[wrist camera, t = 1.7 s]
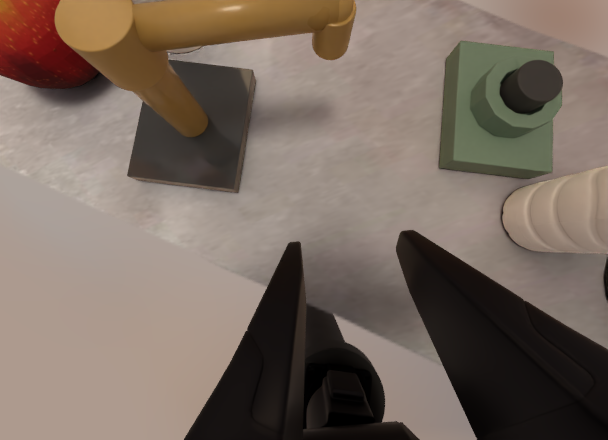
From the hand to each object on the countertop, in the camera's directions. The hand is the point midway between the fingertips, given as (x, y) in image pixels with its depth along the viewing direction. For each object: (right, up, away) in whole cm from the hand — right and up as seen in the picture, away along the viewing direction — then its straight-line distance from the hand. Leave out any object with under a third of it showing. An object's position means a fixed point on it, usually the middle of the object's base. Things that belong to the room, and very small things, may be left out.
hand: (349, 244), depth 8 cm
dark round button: (+17, +12, +11) cm, 24 cm away
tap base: (-12, +10, +15) cm, 22 cm away
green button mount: (+17, +11, +15) cm, 25 cm away
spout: (-7, +12, +7) cm, 15 cm away
